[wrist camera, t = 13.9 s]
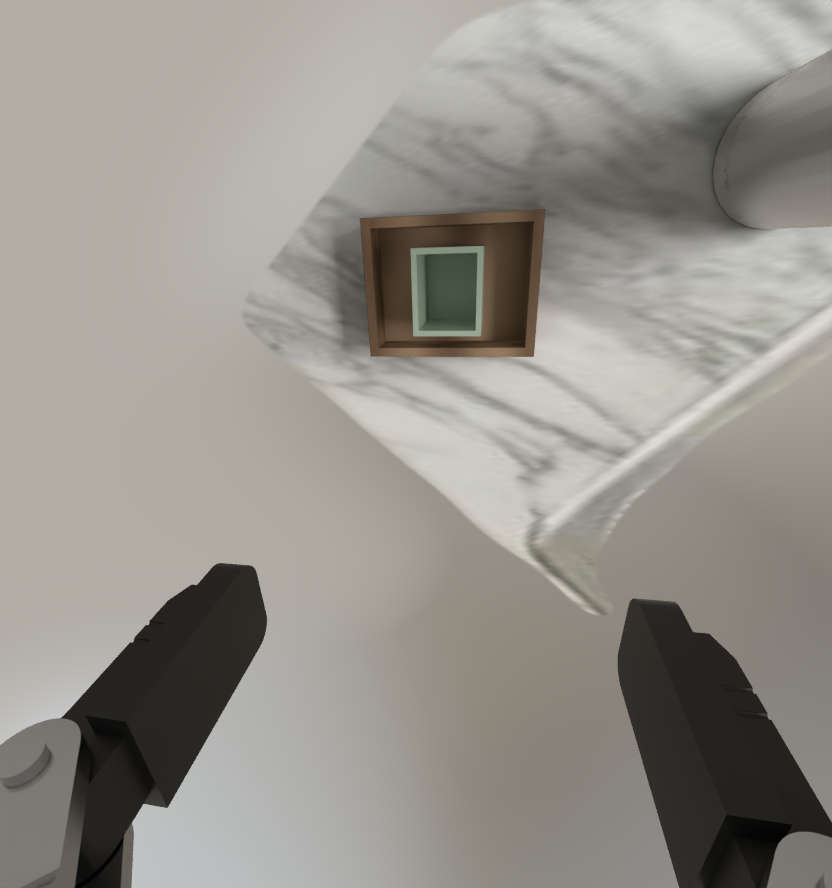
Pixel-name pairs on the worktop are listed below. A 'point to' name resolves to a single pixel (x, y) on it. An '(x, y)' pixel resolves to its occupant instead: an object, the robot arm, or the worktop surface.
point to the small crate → (447, 290)
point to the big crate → (505, 281)
